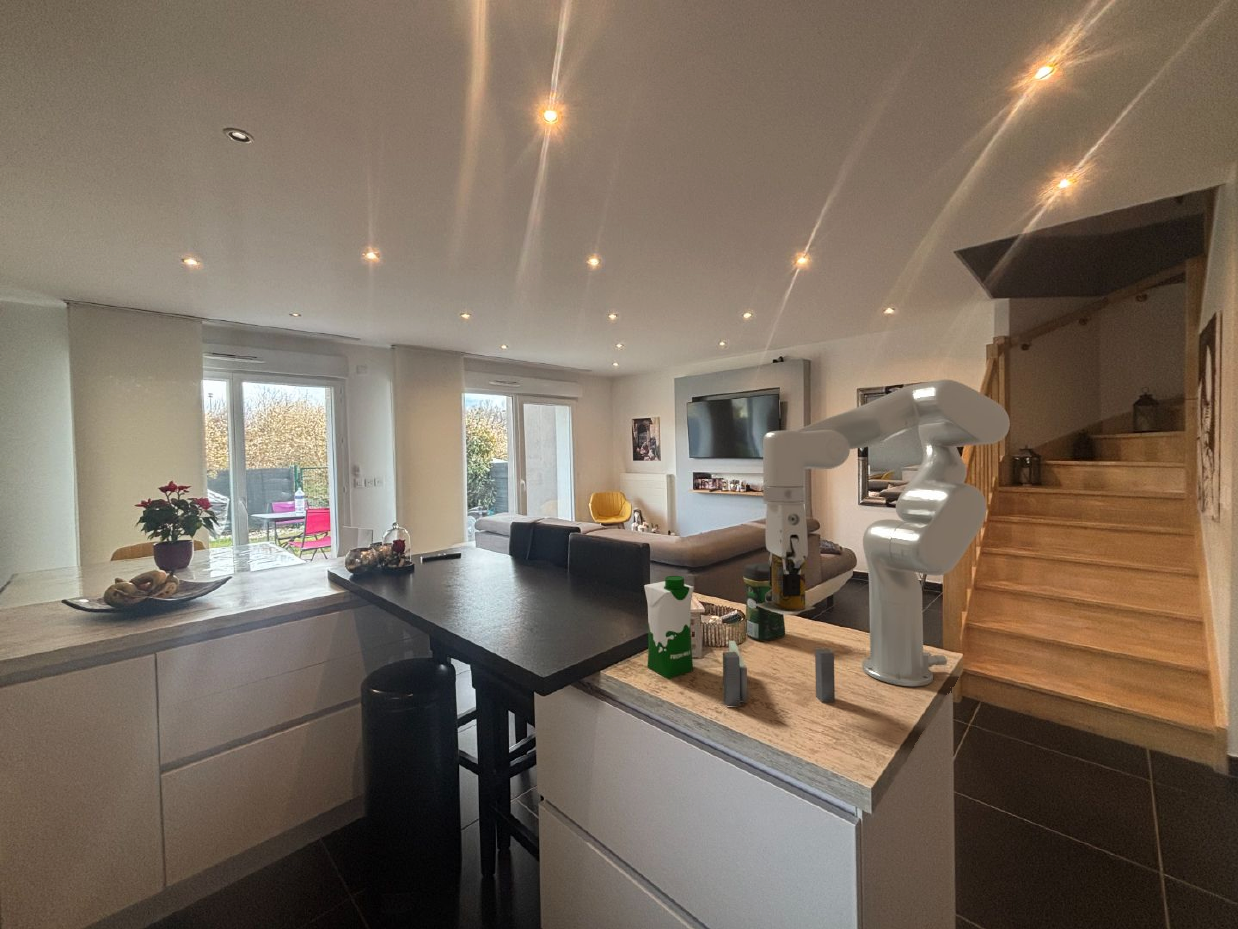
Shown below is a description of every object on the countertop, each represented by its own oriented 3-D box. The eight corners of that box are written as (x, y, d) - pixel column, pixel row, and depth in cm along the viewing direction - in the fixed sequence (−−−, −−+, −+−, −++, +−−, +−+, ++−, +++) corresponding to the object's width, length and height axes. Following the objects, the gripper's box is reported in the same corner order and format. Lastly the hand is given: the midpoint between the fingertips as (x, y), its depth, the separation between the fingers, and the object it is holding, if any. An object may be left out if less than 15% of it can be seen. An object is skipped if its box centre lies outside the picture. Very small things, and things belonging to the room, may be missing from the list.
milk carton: (666, 682, 98) (665, 583, 98) (641, 666, 105) (639, 575, 105) (699, 671, 102) (697, 577, 102) (672, 657, 110) (670, 569, 110)
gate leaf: (739, 702, 88) (738, 669, 88) (727, 669, 102) (727, 640, 102) (749, 702, 88) (748, 669, 88) (736, 669, 102) (736, 640, 102)
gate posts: (828, 695, 91) (827, 648, 91) (834, 702, 88) (833, 653, 88) (723, 700, 89) (722, 652, 89) (727, 707, 87) (726, 657, 87)
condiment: (815, 608, 90) (815, 544, 90) (785, 616, 86) (784, 548, 86) (784, 599, 96) (783, 539, 96) (754, 606, 92) (753, 543, 92)
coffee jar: (769, 628, 128) (768, 558, 128) (790, 638, 121) (789, 563, 120) (739, 633, 124) (737, 561, 124) (759, 644, 117) (757, 567, 117)
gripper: (823, 499, 83) (824, 604, 83) (786, 493, 100) (787, 580, 100) (780, 499, 83) (780, 604, 83) (750, 493, 100) (751, 580, 100)
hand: (784, 590), depth 91 cm, fingers closed on condiment, 6 cm apart
